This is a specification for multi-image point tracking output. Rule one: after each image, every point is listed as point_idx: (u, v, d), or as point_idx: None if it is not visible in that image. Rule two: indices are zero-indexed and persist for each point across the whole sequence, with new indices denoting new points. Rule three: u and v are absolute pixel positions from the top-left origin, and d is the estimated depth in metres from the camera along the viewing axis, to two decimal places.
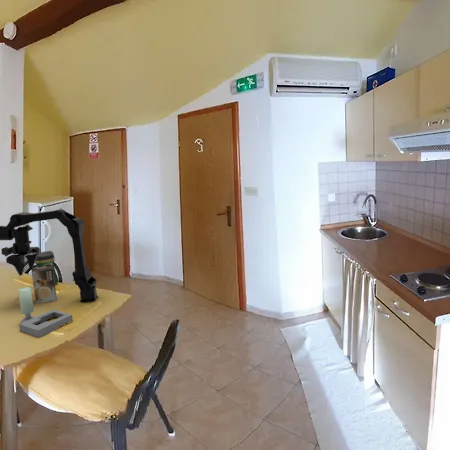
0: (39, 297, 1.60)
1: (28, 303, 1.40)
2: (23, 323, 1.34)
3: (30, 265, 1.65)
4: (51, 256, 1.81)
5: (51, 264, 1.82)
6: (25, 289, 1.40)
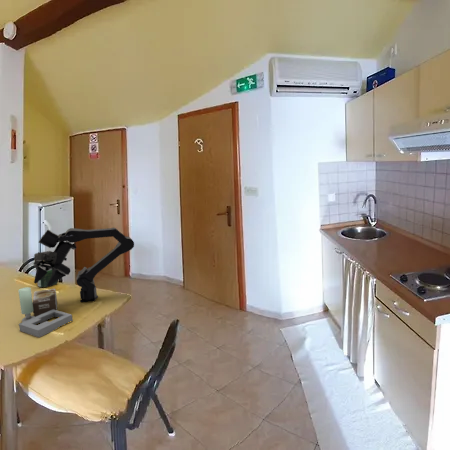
0: None
1: (28, 303, 1.40)
2: (23, 323, 1.34)
3: (37, 279, 1.51)
4: None
5: None
6: (25, 289, 1.40)
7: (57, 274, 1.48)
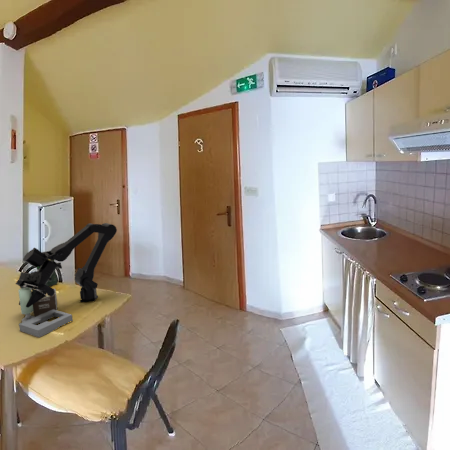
0: None
1: None
2: (23, 323, 1.34)
3: None
4: None
5: None
6: (25, 289, 1.40)
7: (37, 295, 1.42)
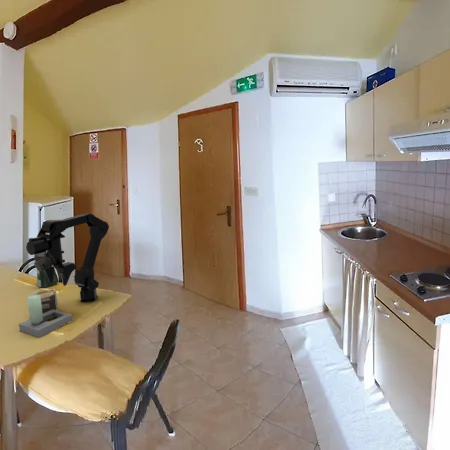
0: None
1: (38, 311, 1.32)
2: (23, 323, 1.34)
3: (51, 278, 1.51)
4: None
5: None
6: (34, 297, 1.32)
7: (66, 272, 1.46)
